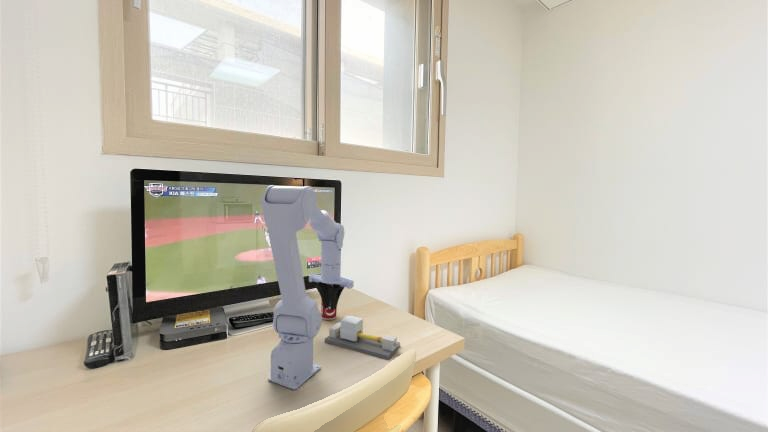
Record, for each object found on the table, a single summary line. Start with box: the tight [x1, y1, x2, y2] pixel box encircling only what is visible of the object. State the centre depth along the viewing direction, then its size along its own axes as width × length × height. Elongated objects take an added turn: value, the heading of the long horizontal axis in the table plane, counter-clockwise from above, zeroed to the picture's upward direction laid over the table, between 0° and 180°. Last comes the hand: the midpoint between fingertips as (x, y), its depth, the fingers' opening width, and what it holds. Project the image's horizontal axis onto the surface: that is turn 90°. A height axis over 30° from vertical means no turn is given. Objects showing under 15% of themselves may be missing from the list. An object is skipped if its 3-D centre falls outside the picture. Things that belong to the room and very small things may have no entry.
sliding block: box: [340, 315, 364, 342], centre depth 86 cm, size 4×5×5 cm
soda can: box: [320, 285, 338, 321], centre depth 103 cm, size 5×5×12 cm
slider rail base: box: [324, 321, 401, 361], centre depth 85 cm, size 8×21×4 cm, turn 66°
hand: (330, 308), depth 89 cm, fingers closed
